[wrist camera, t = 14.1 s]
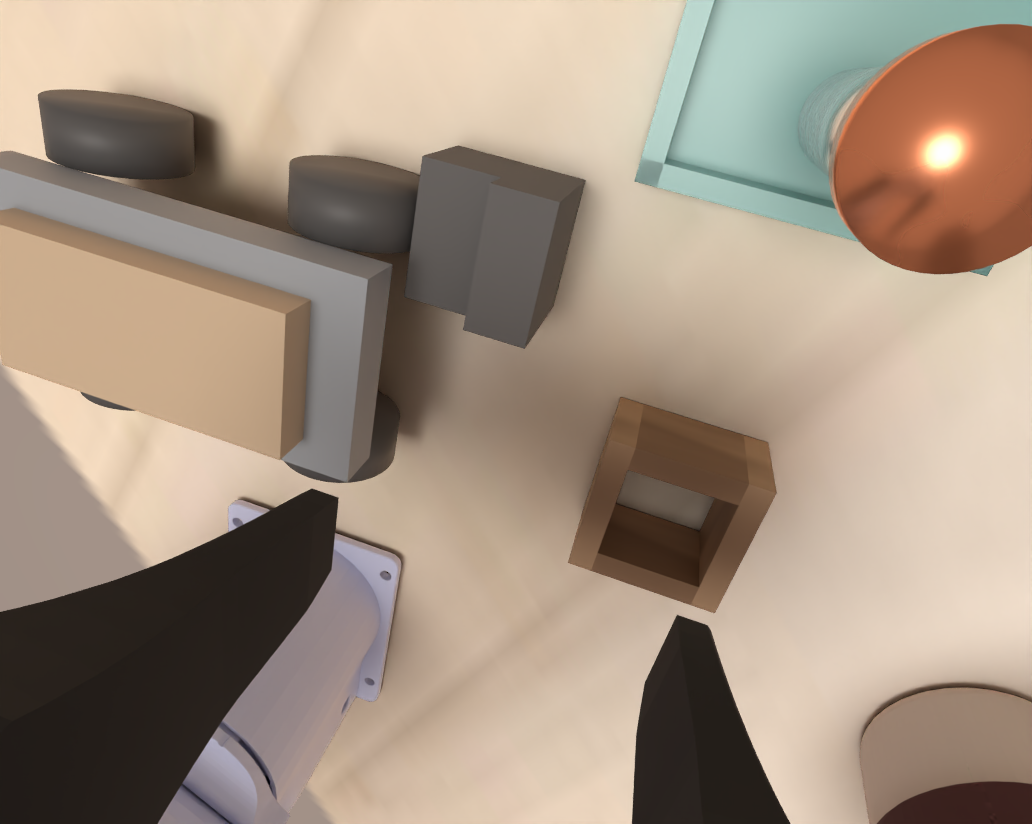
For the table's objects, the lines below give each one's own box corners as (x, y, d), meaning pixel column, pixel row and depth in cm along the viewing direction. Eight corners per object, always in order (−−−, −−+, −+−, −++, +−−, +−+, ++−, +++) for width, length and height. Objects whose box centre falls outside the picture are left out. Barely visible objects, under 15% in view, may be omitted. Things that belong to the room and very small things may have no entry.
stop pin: (881, 202, 17) (1016, 301, 10) (761, 169, 18) (799, 239, 10) (947, 68, 16) (1172, 59, 8) (814, 34, 16) (908, -4, 8)
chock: (554, 304, 21) (524, 348, 18) (439, 270, 22) (390, 307, 18) (586, 179, 19) (559, 202, 16) (459, 145, 20) (407, 160, 16)
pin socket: (713, 555, 24) (714, 613, 21) (582, 511, 25) (567, 563, 22) (768, 442, 22) (776, 492, 19) (620, 397, 22) (609, 439, 20)
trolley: (451, 182, 20) (351, 225, 15) (411, 438, 25) (323, 547, 19) (112, 88, 22) (-102, 93, 16) (135, 347, 26) (-24, 423, 21)
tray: (962, 258, 18) (986, 275, 16) (640, 172, 19) (634, 181, 17) (1137, -50, 14) (1189, -66, 13) (730, -134, 15) (733, -158, 14)
